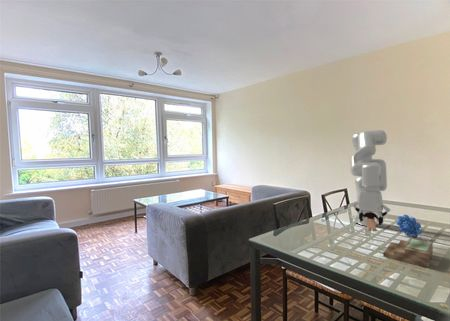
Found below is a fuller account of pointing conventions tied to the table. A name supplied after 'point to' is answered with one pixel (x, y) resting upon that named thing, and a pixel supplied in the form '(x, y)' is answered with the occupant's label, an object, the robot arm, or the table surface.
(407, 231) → the grapes
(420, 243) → the step riser
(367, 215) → the grandmother figurine
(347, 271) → the table surface
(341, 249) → the table surface
